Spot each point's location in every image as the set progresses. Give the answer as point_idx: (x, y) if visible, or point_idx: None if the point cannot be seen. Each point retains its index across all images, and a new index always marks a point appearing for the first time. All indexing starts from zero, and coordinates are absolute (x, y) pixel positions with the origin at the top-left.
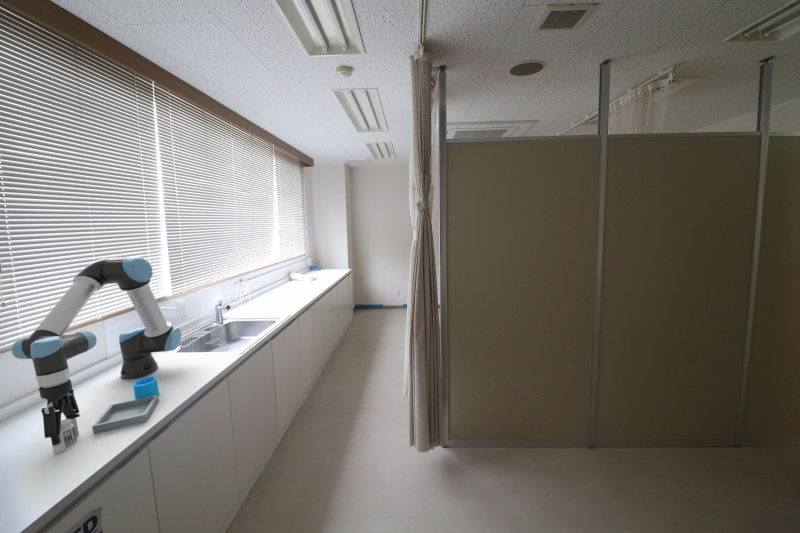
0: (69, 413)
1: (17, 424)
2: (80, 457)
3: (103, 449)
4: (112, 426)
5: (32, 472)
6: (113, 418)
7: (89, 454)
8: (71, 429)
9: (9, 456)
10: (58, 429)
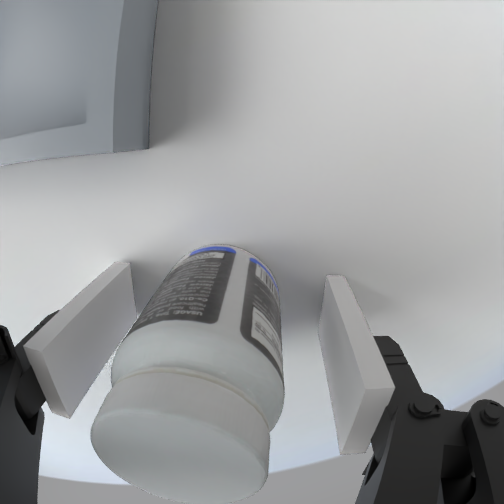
0: (13, 449)
1: None
2: (486, 137)
3: (456, 17)
4: (145, 7)
5: (463, 350)
6: (5, 98)
7: (479, 89)
8: (230, 323)
9: None
10: (439, 447)
